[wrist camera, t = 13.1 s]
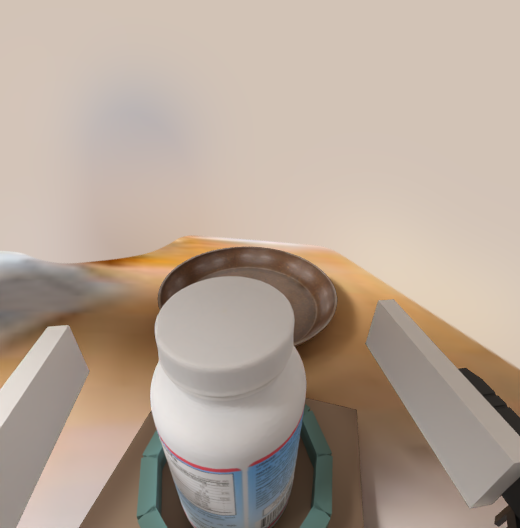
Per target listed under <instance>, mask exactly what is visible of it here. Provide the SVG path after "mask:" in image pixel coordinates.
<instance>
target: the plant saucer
mask: <svg viewBox="0 0 520 528" xmlns="http://www.w3.org/2000/svg"><path fill="white" fill-rule="evenodd" d="M225 276H238V277H247V278H252V279H256V280H259V281H262V282H265V283H267V284H269V285H271V286H273V287H274V288H276V289H277V290H279V291H280V292H281V293H282V294H283V295H284V296H285V297H286V298H287V299H288V301H289V302H290V304H291V306H292V309H293V313H294V319H295V321H294V334H293V345H294V347H296V346H298V345H301V344H303V343H304V342H306V341H308V340H309V339H311V338H312V337H314V336H315V335H317V334H318V333H319V332H320V331H321V330H323V329H324V328H325V326H326V325H327V324H328V323H329V322H330V320H331V319H332V317H333V315H334V313H335V311H336V307H337V294H336V290H335V287H334V285H333V283H332V282H331V280H330V279H329V278H328V276H327V275H326V274H325V273H324V272H323V271H322V270H321V269H320V268H318V267H317V266H316V265H314V264H312V263H311V262H309V261H307V260H305V259H303V258H301V257H299V256H296V255H294V254H291V253H288V252H284V251H280V250H275V249H270V248H262V247H232V248H224V249H218V250H213V251H210V252H206V253H203V254H200V255H197V256H195V257H192V258H190V259H188V260H186V261H185V262H183V263H182V264H180V265H178V266H177V267H176V268H175V269H173V270H172V271H171V272H170V273H169V274H168V275H167V277H166V278H165V279H164V281H163V282H162V284H161V286H160V289H159V293H158V305H159V309H160V310H161V308H162V307H163V305H164V304H165V303H166V302H167V301H168V300H169V299H170V298H171V297H172V296H173V295H174V294H175V293H177V292H178V291H180V290H181V289H183V288H185V287H187V286H189V285H191V284H194V283H196V282H199V281H202V280H206V279H210V278H215V277H225Z"/></svg>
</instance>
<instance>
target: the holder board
mask: <svg viewBox="0 0 520 528" xmlns="http://www.w3.org/2000/svg"><path fill="white" fill-rule="evenodd" d="M79 528H194V527H193V525H192V524H191V523H190V521H189V519H188V518H187V516H186V514H185V512H184V509H183V507H182V504H181V501H180V498H179V495H178V492H177V489H176V486H175V483H174V480H173V477H172V474H171V471H170V468H169V465H168V462H167V459H166V456H165V453H164V450H163V447H162V444H161V441H160V439H159V435H158V432H157V429H156V426H155V423H154V418H153V415H152V410H151V412H150V413H149V415H148V417H147V418H146V420H145V421H144V423H143V425H142V426H141V428H140V430H139V431H138V433H137V434H136V436H135V438H134V439H133V441H132V443H131V444H130V446H129V447H128V449H127V451H126V452H125V454H124V455H123V457H122V459H121V460H120V462H119V464H118V465H117V467H116V468H115V470H114V472H113V473H112V475H111V477H110V478H109V480H108V481H107V483H106V485H105V486H104V488H103V489H102V491H101V493H100V494H99V496H98V498H97V499H96V501H95V502H94V504H93V506H92V507H91V509H90V510H89V512H88V514H87V515H86V517H85V519H84V520H83V522H82V523H81V525H80V527H79ZM272 528H364V524H363V507H362V491H361V474H360V458H359V441H358V425H357V410H356V409H351V408H347V407H343V406H339V405H334V404H330V403H326V402H321V401H317V400H313V399H309V398H305V405H304V413H303V420H302V426H301V432H300V439H299V446H298V452H297V459H296V466H295V472H294V479H293V485H292V490H291V494H290V497H289V500H288V503H287V506H286V508H285V510H284V512H283V514H282V515H281V517H280V518H279V520H278V521H277V522H276V524H275V525H274V526H273V527H272Z"/></svg>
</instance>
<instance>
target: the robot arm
mask: <svg viewBox="0 0 520 528" xmlns="http://www.w3.org/2000/svg"><path fill="white" fill-rule="evenodd" d="M366 345H367V347H368V349H369V350H370V352H371V353H372V355H373V356H374V358H375V360H376V361H377V363H378V364H379V366H380V367H381V369H382V371H383V372H384V374H385V375H386V377H387V379H388V380H389V382H390V383H391V385H392V386H393V388H394V390H395V391H396V393H397V394H398V396H399V398H400V399H401V401H402V402H403V404H404V405H405V407H406V409H407V410H408V412H409V413H410V415H411V417H412V418H413V420H414V421H415V423H416V424H417V426H418V428H419V429H420V431H421V432H422V434H423V435H424V437H425V439H426V440H427V442H428V443H429V445H430V447H431V448H432V450H433V451H434V453H435V454H436V456H437V458H438V459H439V461H440V462H441V464H442V466H443V467H444V469H445V470H446V472H447V473H448V475H449V477H450V478H451V480H452V481H453V483H454V485H455V486H456V488H457V489H458V491H459V492H460V494H461V496H462V497H463V499H464V500H465V502H466V504H467V505H468V507H469V508H470V509H471V508H476V507H481V506H486V505H491V504H493V503H494V502H495V501H496V500H497V499H498V498H499V497H500V496H501V495H502V496H503V498H504V499H505V501H506V502H507V503H508V506H507V507H506V508H505V509H504V510H502V511H501V512H500V513H499V514H498V515H497V516H496V517H495V523H494V524H495V525H497V526H500V525H502V524H503V523H504V522H505V521H506V520H507V525H508V526H507V528H520V418H519V417H518V416H517V414H516V413H515V412H514V411H513V410H512V409H511V408H510V407H509V408H508V407H507V404H506V403H505V402H504V401H503V400H502V399H501V398H500V397H499V396H496V394H495V392H494V391H493V390H492V389H491V388H490V387H489V386H488V385H487V384H486V383H485V382H484V381H483V380H482V379H481V378H480V377H478V376H477V375H475V374H474V373H472V372H471V371H469V370H468V369H466V368H461V369H457V368H456V366H455V365H454V364H453V363H452V362H451V361H450V360H449V359H448V358H447V357H446V356H445V355H444V353H443V352H442V351H441V350H440V349H439V348H438V347H437V346H436V345H435V344H434V343H433V342H432V340H431V339H430V338H429V337H428V336H427V335H426V334H425V333H424V332H423V331H422V330H421V329H420V327H419V326H418V325H417V324H416V323H415V322H414V321H413V320H412V319H411V318H410V317H409V315H408V314H407V313H406V312H405V311H404V310H403V309H402V308H401V307H400V306H399V305H398V304H397V302H396V301H395V300H394V299H392V300H380V301H378V303H377V306H376V310H375V313H374V317H373V320H372V323H371V327H370V330H369V334H368V337H367V340H366ZM88 374H89V369H88V367H87V365H86V362H85V360H84V358H83V356H82V353H81V351H80V349H79V347H78V344H77V342H76V340H75V338H74V335H73V333H72V331H71V329H70V326H69V325H62V326H49V327H47V328H46V330H45V331H44V332H43V334H42V335H41V336H40V338H39V339H38V340H37V342H36V343H35V344H34V345H33V347H32V348H31V349H30V351H29V352H28V353H27V355H26V356H25V357H24V359H23V360H22V361H21V363H20V364H19V365H18V367H17V368H16V369H15V371H14V372H13V373H12V375H11V376H10V377H9V379H8V380H7V381H6V383H5V384H4V385H3V387H2V388H1V389H0V528H16V526H17V524H18V522H19V520H20V518H21V516H22V514H23V512H24V510H25V507H26V505H27V503H28V501H29V499H30V497H31V495H32V493H33V490H34V488H35V486H36V484H37V482H38V480H39V478H40V476H41V473H42V471H43V469H44V467H45V465H46V463H47V461H48V459H49V456H50V454H51V452H52V450H53V448H54V446H55V444H56V442H57V439H58V437H59V435H60V433H61V431H62V429H63V427H64V425H65V422H66V420H67V418H68V416H69V414H70V412H71V410H72V408H73V405H74V403H75V401H76V399H77V397H78V395H79V393H80V391H81V388H82V386H83V384H84V382H85V380H86V378H87V376H88Z"/></svg>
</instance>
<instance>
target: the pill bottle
mask: <svg viewBox="0 0 520 528" xmlns="http://www.w3.org/2000/svg"><path fill="white" fill-rule="evenodd" d="M294 321H295V319H294V313H293V309H292V306H291V304H290V302H289V301H288V299H287V298H286V297H285V296H284V295H283V294H282V293H281V292H280V291H279V290H277V289H276V288H274V287H273V286H271V285H269V284H267V283H265V282H262V281H259V280H256V279H252V278H247V277H238V276H225V277H215V278H210V279H206V280H202V281H199V282H196V283H194V284H191V285H189V286H187V287H185V288H183V289H181V290H180V291H178V292H177V293H175V294H174V295H173V296H172V297H171V298H170V299H169V300H168V301H167V302H166V303H165V304H164V305H163V307H162V308H161V310H160V312H159V314H158V315H157V318H156V322H155V339H156V344H157V348H158V356H159V362H158V364H157V366H156V369H155V371H154V374H153V378H152V382H151V389H150V402H151V410H152V415H153V418H154V423H155V426H156V429H157V432H158V435H159V439H160V441H161V444H162V447H163V450H164V453H165V456H166V459H167V462H168V465H169V468H170V471H171V474H172V477H173V480H174V483H175V486H176V489H177V492H178V495H179V498H180V501H181V504H182V507H183V509H184V512H185V514H186V516H187V518H188V519H189V521H190V523H191V524H192V525H193V527H194V528H272V527H273V526H274V525H275V524H276V522H277V521H278V520H279V518H280V517H281V515H282V514H283V512H284V510H285V508H286V506H287V503H288V500H289V497H290V494H291V490H292V485H293V479H294V472H295V466H296V459H297V452H298V446H299V439H300V432H301V426H302V420H303V413H304V405H305V398H306V374H305V369H304V365H303V362H302V360H301V357H300V355H299V353H298V351H297V350H296V348H295V347H294V345H293V334H294Z"/></svg>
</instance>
